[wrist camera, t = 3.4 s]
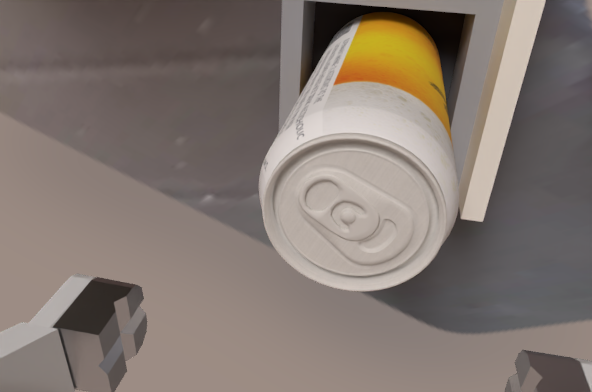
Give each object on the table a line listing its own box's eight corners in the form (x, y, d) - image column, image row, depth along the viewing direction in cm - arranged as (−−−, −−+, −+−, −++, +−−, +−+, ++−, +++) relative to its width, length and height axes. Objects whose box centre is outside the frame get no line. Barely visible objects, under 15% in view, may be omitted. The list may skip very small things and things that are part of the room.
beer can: (386, 140, 29) (364, 331, 16) (303, 75, 28) (212, 224, 16) (465, 59, 26) (512, 217, 13) (374, -18, 25) (332, 74, 12)
